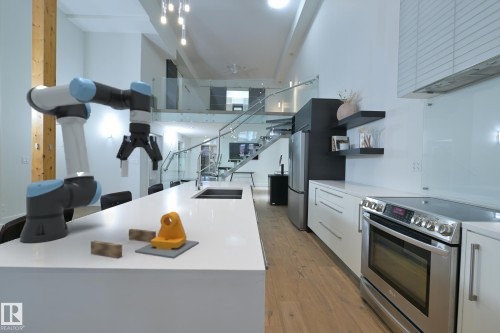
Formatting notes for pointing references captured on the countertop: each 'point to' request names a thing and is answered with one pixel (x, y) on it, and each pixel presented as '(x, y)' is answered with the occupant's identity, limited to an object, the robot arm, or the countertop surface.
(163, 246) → the bracket
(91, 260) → the countertop surface
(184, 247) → the mat
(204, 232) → the countertop surface
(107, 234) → the countertop surface
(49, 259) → the countertop surface
